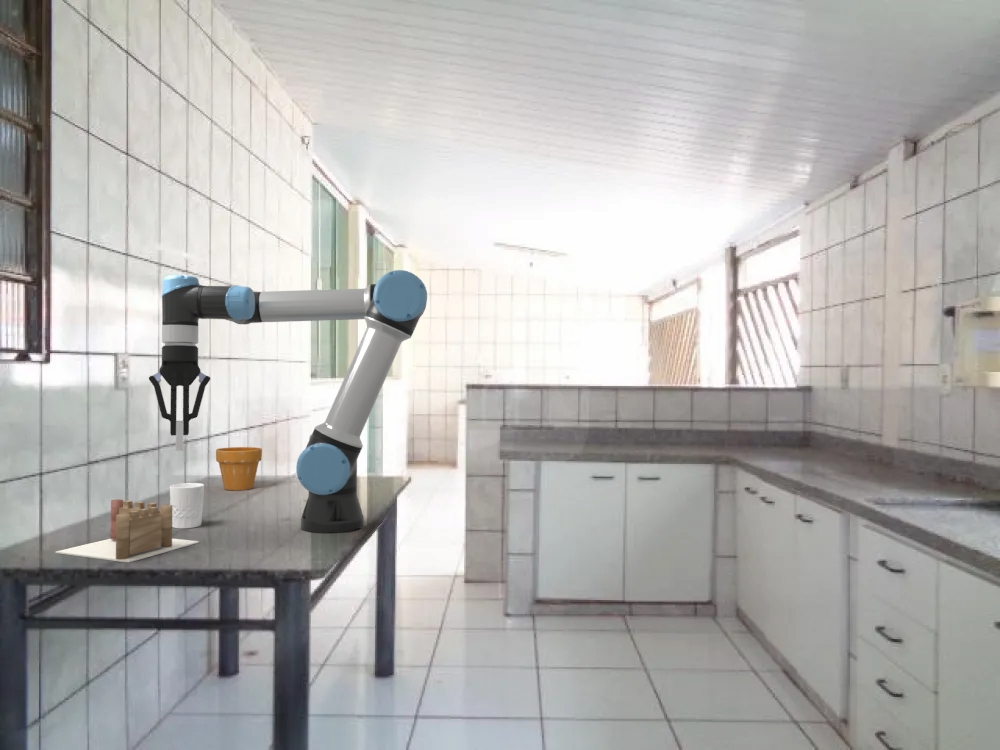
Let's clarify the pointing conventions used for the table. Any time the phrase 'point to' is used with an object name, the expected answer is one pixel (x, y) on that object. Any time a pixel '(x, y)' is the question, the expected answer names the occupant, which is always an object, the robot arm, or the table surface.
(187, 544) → the card
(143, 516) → the wooden castle wall
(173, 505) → the white cup
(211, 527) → the table surface
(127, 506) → the swing panel
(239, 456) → the flower pot
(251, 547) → the table surface
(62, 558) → the table surface
